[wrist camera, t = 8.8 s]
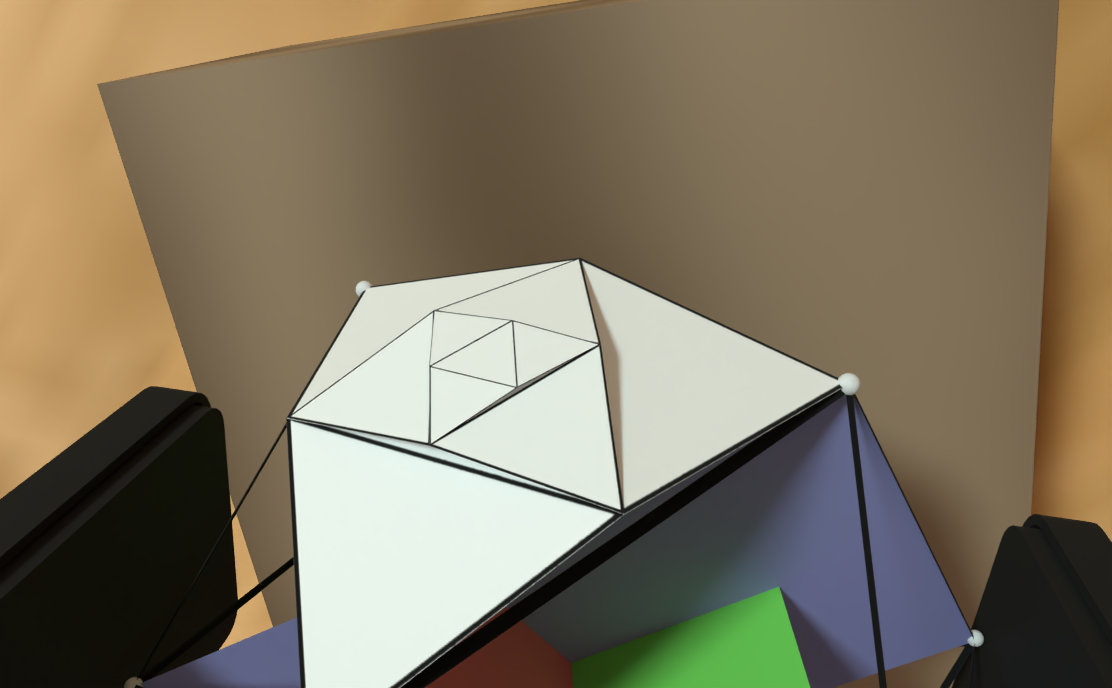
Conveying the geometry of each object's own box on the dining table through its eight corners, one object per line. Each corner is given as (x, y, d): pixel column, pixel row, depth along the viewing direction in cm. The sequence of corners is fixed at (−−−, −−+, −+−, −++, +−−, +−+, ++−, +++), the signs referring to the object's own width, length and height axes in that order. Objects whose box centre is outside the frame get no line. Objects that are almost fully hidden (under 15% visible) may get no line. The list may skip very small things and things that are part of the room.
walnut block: (926, -54, 15) (1062, -65, 9) (923, 524, 19) (1017, 758, 13) (295, 43, 17) (97, 84, 11) (416, 544, 21) (314, 754, 15)
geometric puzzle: (1081, 842, 10) (1497, 1688, 3) (544, 981, 12) (-68, 1700, 5) (810, 277, 12) (637, -92, 5) (395, 469, 14) (-170, 403, 7)
